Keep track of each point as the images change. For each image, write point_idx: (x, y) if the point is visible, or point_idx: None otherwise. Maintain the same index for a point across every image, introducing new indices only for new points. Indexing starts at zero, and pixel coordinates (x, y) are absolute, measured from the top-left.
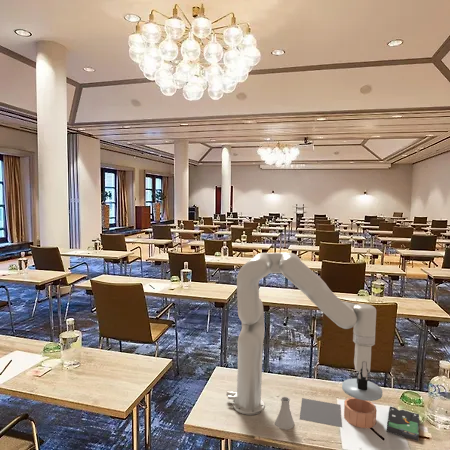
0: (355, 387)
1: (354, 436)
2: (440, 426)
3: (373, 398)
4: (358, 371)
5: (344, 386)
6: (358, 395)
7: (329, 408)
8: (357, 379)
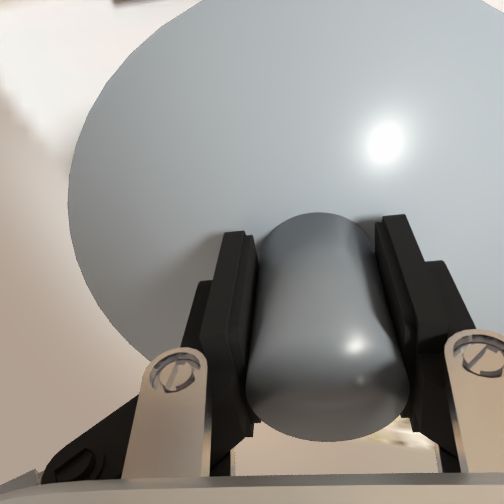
0: (287, 190)
1: (99, 91)
2: (409, 435)
3: (146, 350)
4: (448, 369)
5: (242, 25)
6: (89, 232)
7: None
8: (384, 258)
